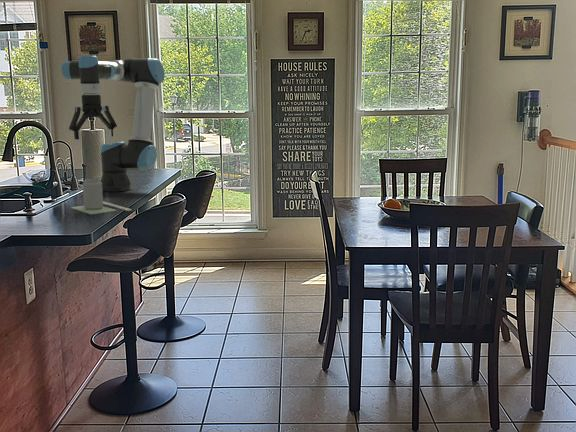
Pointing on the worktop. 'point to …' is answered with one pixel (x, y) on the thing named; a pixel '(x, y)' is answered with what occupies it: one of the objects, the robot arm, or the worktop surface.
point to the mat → (102, 210)
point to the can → (92, 194)
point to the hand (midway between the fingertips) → (95, 146)
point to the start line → (117, 206)
